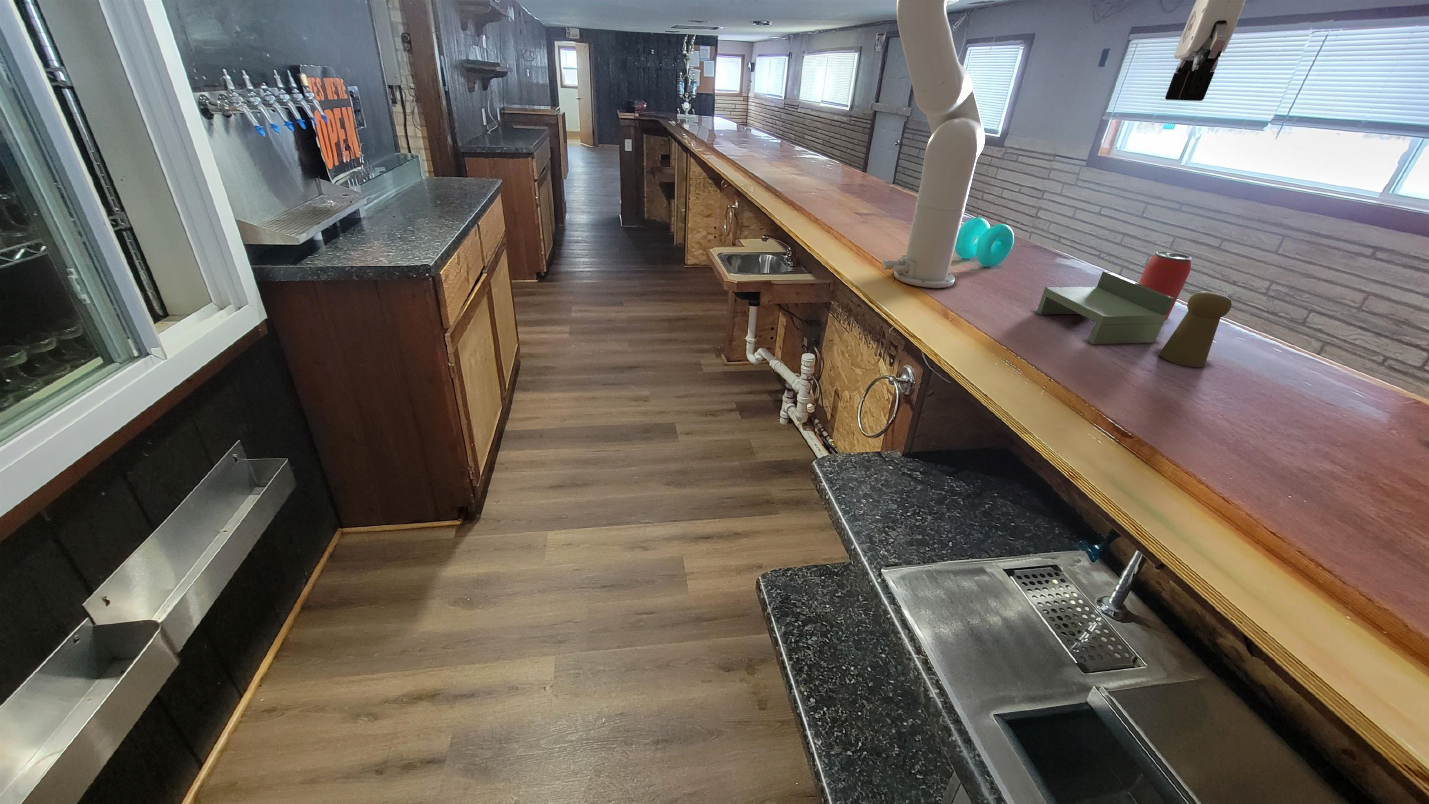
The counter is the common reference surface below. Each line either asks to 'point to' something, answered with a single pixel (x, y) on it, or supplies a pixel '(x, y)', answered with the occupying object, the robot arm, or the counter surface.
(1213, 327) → the cork
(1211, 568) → the counter surface
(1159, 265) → the beer can
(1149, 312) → the shelf
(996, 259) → the turquoise spool
